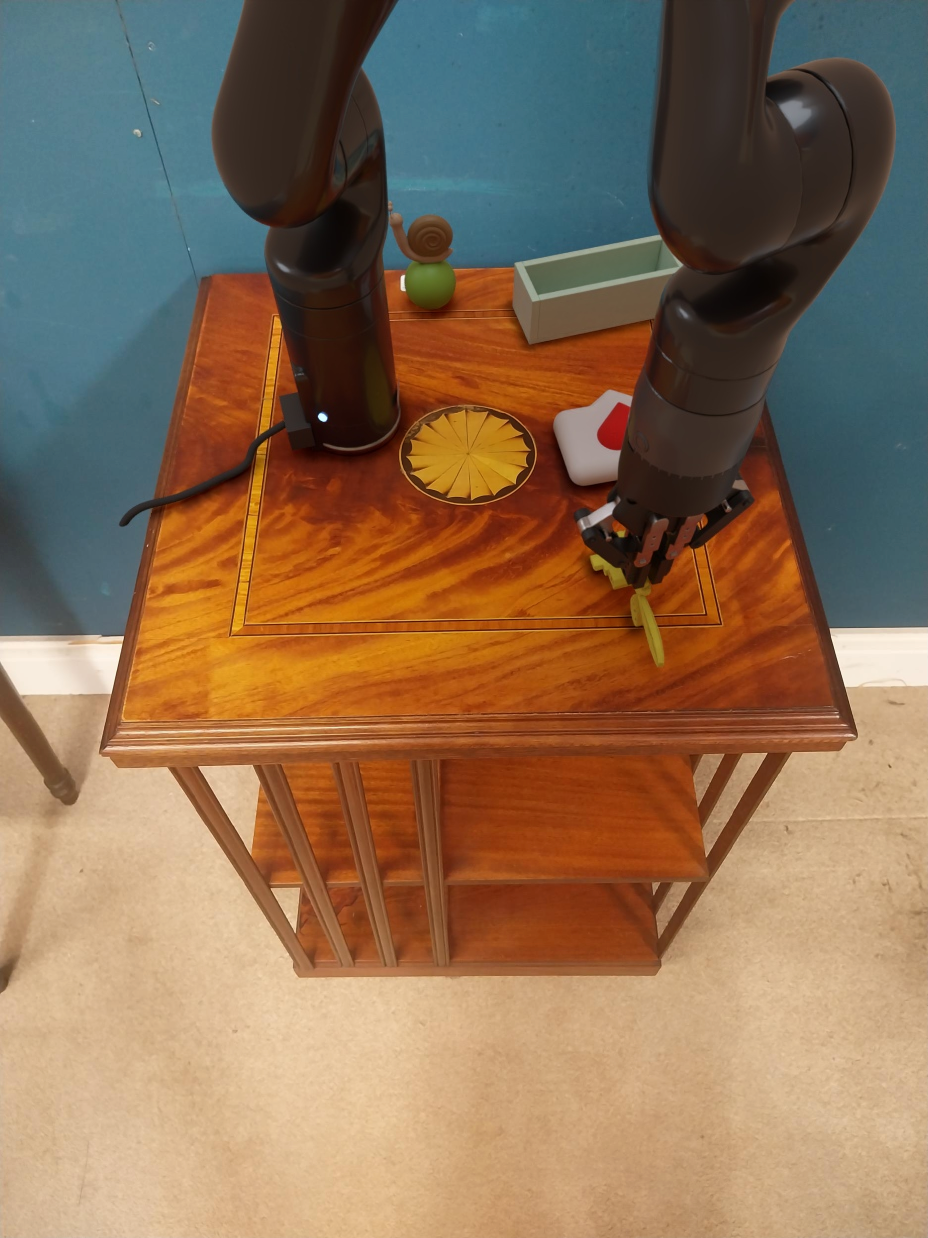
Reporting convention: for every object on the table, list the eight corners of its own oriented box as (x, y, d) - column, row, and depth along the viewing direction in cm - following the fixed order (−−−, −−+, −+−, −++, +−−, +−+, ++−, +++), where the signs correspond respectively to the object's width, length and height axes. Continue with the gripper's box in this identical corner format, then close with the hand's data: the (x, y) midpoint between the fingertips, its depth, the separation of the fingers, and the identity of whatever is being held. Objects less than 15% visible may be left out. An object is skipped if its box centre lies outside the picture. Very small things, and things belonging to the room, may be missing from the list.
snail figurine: (395, 288, 93) (384, 186, 82) (453, 283, 93) (450, 180, 82) (398, 323, 90) (388, 221, 79) (459, 318, 90) (456, 216, 80)
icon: (672, 362, 81) (708, 441, 76) (663, 394, 84) (697, 471, 80) (548, 382, 80) (576, 463, 75) (544, 414, 83) (571, 494, 79)
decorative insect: (642, 632, 77) (673, 666, 67) (607, 641, 77) (633, 676, 67) (614, 492, 74) (643, 507, 64) (578, 502, 74) (601, 518, 64)
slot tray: (529, 344, 88) (532, 301, 83) (512, 306, 91) (514, 262, 86) (678, 313, 90) (689, 269, 85) (657, 276, 93) (666, 232, 88)
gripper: (764, 360, 54) (702, 520, 70) (565, 404, 53) (546, 558, 68) (819, 446, 51) (741, 596, 66) (607, 497, 49) (577, 638, 64)
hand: (642, 576), depth 67 cm, fingers closed on decorative insect, 1 cm apart
